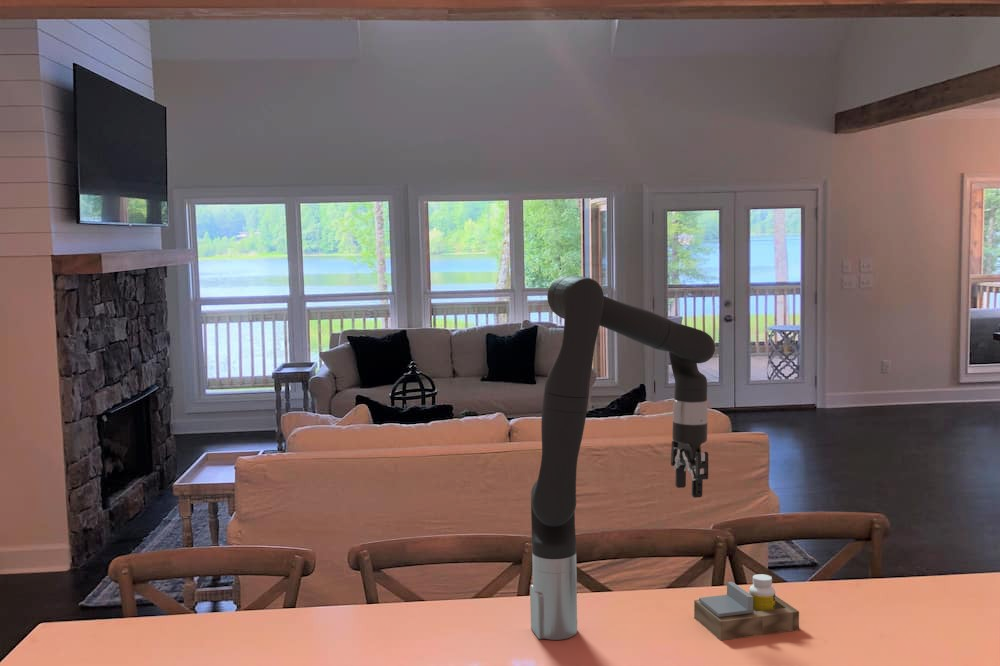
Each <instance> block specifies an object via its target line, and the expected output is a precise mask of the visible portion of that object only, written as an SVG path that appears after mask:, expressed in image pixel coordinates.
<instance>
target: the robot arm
mask: <svg viewBox="0 0 1000 666" xmlns="http://www.w3.org/2000/svg"><path fill="white" fill-rule="evenodd" d="M547 304H548V305H549V308H550V310H551V311H552V312H553V314H555V315H556V316H558V317H559V318H560V319H564V324H563V336H562V342H561V347H560V349H559V352H558V354H557V356H556V358H555V360H554V363H553V364H552V367H551V368H550V370H549V372H548V374H547V377H546V379H545V383H544V389H543V390H544V391H543V396H542V397H543V398H542V405H541V421H540V422H541V423H540V424H541V426H540V427H541V428H540V429H541V433H540V434H541V461H540V468H539V472H538V478H537V480H535V482H534V484H533V486H532V488H531V491H530V514H531V515H530V516H531V517H530V518H531V519H530V520H531V549H532V550H531V551H532V553H531V554H532V555H531V556H532V557H531V558H532V561H531V562H532V584H531V585H530V586H529V591H530V592H529V595H530V606H529V607H530V629H531V630H532V632H533V633H534V635H535V636H536V638H537V639H539V640H543V639H546V640H553V641H555V640H557V641H558V640H559V641H560V640H561V641H562V640H566V639H570V638H573V637H574V636H576V634H577V633H578V598H577V597H578V594H577V593H578V592H577V591H578V586H577V583H578V582H577V581H578V580H577V538H576V520H575V519H576V517H575V516H576V512H575V511H576V508H577V469H578V460H579V459H578V458H579V453H580V449H581V445H582V440H583V435H584V432H585V431H584V429H585V424H586V417H587V412H588V406H589V405H588V404H589V398H590V385H591V379H592V378H591V377H592V370H593V362H594V355H595V348H596V347H595V346H596V341H597V337H598V332H599V329H600V326H601V327H603V328H604V329H605V328H606V329H607V330H610V331H612V332H615V333H617V334H619V335H622V336H624V337H626V338H629V339H631V340H632V341H635V342H638V343H640V344H642V345H645V346H647V347H650V348H653V349H655V350H657V351H658V350H659V351H664V352H668V356H669V361H670V365H671V371H672V375H673V378H674V401H673V406H672V436H671V437H672V440H671V451H670V452H671V453H670V454H671V455H670V466H671V467H673V469H674V471H675V480H674V481H675V488H677V489H679V488H681V489H682V488H686V486H687V484H686V483H687V471H688V472H689V474H690V476H691V497H692V498H695V499H696V498H702V497H703V481H705V480H708V479H709V451H702V447H701V446H702V444H704V443H707V441H708V418H709V417H708V415H709V413H708V412H709V411H708V410H709V408H708V380H707V379H708V378H707V377H706V375H705V374H703V373H702V372H700V371H699V367H698V364H703V363H706V362H709V361H710V360H711V359H712V358H713V356H714V355H715V352H716V344H715V341H714V339H713V337H712V336H711V335H710V334H709V333H708V332H706V331H704V330H701V329H699V328H694V327H691V326H689V325H685V324H681V323H678V322H677V321H673V320H671V319H669V318H667V317H665V316H662V315H660V314H658V313H655V312H653V311H650V310H648V309H647V310H646V309H644V308H641V307H638V306H635V305H631V304H629V303H628V304H627V303H625V302H621V301H619V300H615V299H613V298H611V297H607V296H606V295H605V294H604V291H603V288H602V286H601V285H600V284H599V282H598V281H597V280H595V279H593V278H591V277H586V276H579V275H571V274H570V275H569V274H568V275H565V276H564V275H563V276H561V277H558V278H557V279H555V280H554V281H553V282H552V283H551V285H550V286H549V288H548V291H547ZM686 470H687V471H686Z"/></svg>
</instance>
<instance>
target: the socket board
mask: <svg viewBox="0 0 1000 666" xmlns="http://www.w3.org/2000/svg"><path fill="white" fill-rule="evenodd" d="M693 602H694V603H693V605H694V606H693V607H694V610H693V611H694V612H693V613H694V615H693V616H694V617H693V618H694V619H695V620H696V619H697V620H698V621H699V623H700V624H701V625H702V626H703V627H704V628H705V629H707V631H709V632H710V633H711V634H712V635H713V636H715V637H716V638H717V639H718V640H719V641H726V640H734V639H742V638H748V637H757V636H762V635H763V636H765V635H770V634H771V635H773V634H779V633H787V632H793V631H799V630H800V611H799V609H796V608H794V607H793V606H792V605H790V604H789V603H788V602H786V601H784V600H783V599H781V598H780V597H778V596H777V595H775V609H773V610H765V611H757V612H756V611H755V610H754V613H747V614H740V615H732V616H724V617H718V616H717V615H716V614H714V613H713V612H712V611H711V610H709V609H708V608H707V607H706V606H704V605H703V604H702V603H701V602H700V601H699V599H694V601H693ZM697 620H696V621H697ZM698 621H697V622H698Z"/></svg>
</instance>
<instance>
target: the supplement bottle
mask: <svg viewBox="0 0 1000 666" xmlns="http://www.w3.org/2000/svg"><path fill="white" fill-rule="evenodd" d="M772 577H773V576H771V575H769V574H763V573H761V574H754V575H752V585H751V586H750V587H749V590H748V593H749V594H750V595H752V596H753V609H754V610H755V611H756V612H757V611H765V610H773V609H775V596H776V590H775V588H774V587H773V578H772Z"/></svg>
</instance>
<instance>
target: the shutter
mask: <svg viewBox="0 0 1000 666" xmlns="http://www.w3.org/2000/svg"><path fill="white" fill-rule="evenodd" d="M698 600H699V601H700V602H701V603H702V604H703V605H704V606H706V607H707V608H708V609H709V610H711V611H712V612H713V613H714V614H716V615H717V616H718V617H724V616H732V615H740V614H747V613H754V609H753V596H752V595H750V594H749V591H746V590H744V589H743V588H742V587H740V586H739V585H738V584H736V583H735V582H733V581H727V582H726V594H723V595H722V594H720V595H713V596H705V597H699V598H698Z"/></svg>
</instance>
